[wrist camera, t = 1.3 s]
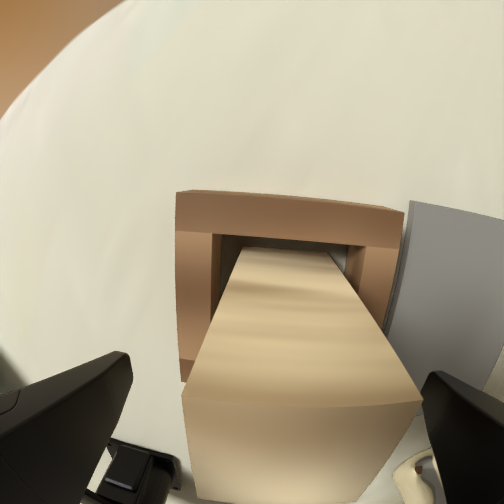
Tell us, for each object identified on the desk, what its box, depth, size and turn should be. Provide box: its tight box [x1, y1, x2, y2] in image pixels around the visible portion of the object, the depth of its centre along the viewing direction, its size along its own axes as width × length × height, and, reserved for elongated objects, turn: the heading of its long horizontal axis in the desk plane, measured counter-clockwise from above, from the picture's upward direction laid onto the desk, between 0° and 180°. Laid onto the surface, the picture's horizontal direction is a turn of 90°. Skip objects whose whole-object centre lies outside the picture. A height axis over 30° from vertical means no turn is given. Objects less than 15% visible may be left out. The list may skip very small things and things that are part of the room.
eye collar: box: [175, 190, 404, 382], centre depth 13 cm, size 9×9×2 cm
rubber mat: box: [384, 200, 504, 416], centre depth 14 cm, size 14×11×1 cm
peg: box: [181, 246, 424, 504], centre depth 9 cm, size 4×4×10 cm
